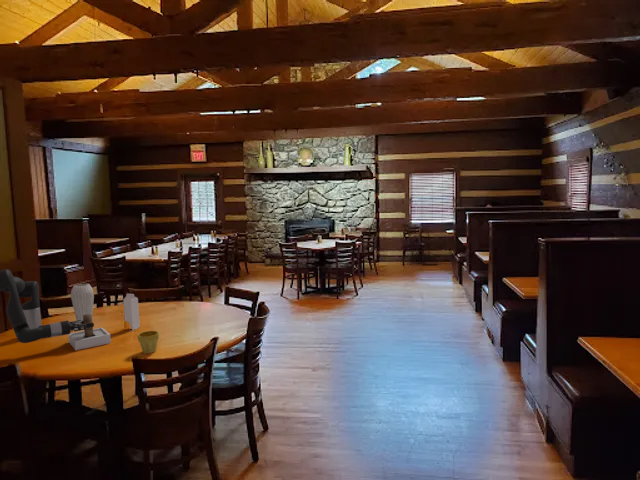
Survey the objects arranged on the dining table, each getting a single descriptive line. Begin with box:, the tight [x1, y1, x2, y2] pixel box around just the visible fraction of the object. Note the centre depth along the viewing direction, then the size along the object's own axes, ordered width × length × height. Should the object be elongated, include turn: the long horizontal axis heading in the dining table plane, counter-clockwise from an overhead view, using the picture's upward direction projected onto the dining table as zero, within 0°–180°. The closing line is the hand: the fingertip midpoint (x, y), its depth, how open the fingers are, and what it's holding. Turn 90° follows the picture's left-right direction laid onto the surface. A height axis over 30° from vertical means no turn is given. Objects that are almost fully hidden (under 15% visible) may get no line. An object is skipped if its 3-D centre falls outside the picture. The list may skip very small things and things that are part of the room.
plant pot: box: [137, 330, 160, 354], centre depth 249 cm, size 10×10×10 cm
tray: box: [67, 327, 112, 351], centre depth 267 cm, size 18×18×5 cm
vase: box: [70, 283, 95, 321], centre depth 301 cm, size 13×13×26 cm
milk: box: [122, 293, 141, 331], centre depth 291 cm, size 6×6×22 cm
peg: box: [83, 314, 94, 338], centre depth 266 cm, size 4×4×16 cm
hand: (92, 323), depth 267 cm, fingers open, 8 cm apart
